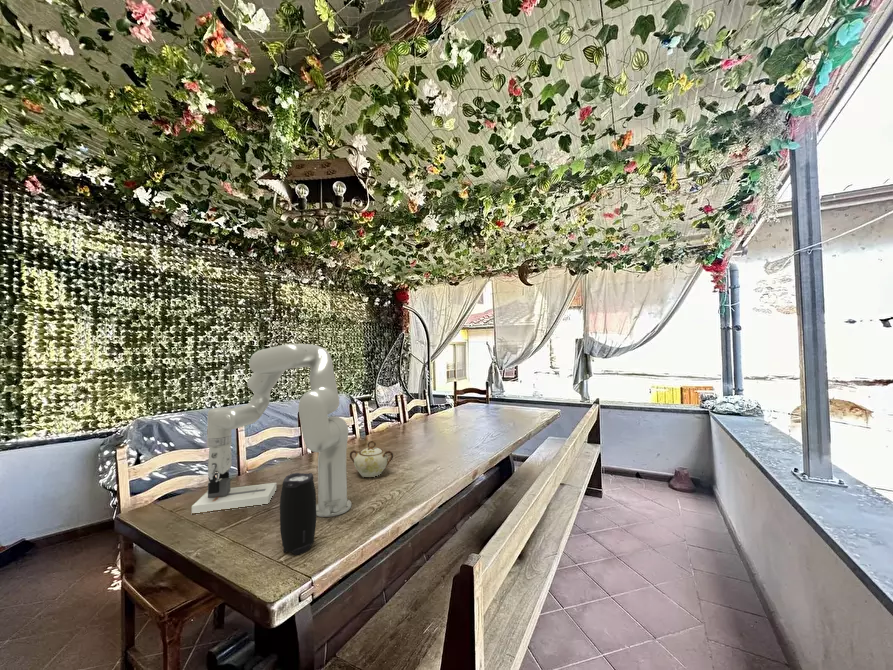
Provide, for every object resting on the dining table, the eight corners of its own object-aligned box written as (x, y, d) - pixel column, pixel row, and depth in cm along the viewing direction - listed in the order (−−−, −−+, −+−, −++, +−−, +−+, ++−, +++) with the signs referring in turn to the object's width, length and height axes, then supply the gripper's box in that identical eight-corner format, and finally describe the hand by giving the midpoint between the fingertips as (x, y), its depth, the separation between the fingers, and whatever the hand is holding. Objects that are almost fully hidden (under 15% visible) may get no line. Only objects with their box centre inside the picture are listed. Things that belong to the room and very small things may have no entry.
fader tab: (226, 495, 124) (226, 481, 124) (207, 497, 122) (207, 483, 123) (230, 491, 128) (230, 477, 128) (212, 493, 126) (212, 479, 127)
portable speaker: (282, 543, 97) (281, 474, 98) (316, 536, 100) (316, 469, 101) (278, 560, 89) (278, 484, 90) (316, 552, 92) (315, 478, 93)
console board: (268, 504, 123) (268, 495, 123) (191, 515, 117) (191, 505, 117) (276, 490, 137) (276, 482, 137) (208, 498, 130) (208, 490, 130)
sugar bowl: (396, 468, 158) (396, 436, 158) (389, 481, 143) (388, 445, 144) (355, 469, 159) (355, 437, 160) (343, 481, 144) (343, 445, 145)
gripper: (222, 446, 119) (222, 495, 118) (238, 435, 136) (238, 478, 135) (197, 448, 117) (197, 498, 116) (216, 436, 134) (216, 481, 133)
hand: (219, 487), depth 125 cm, fingers open, 9 cm apart
